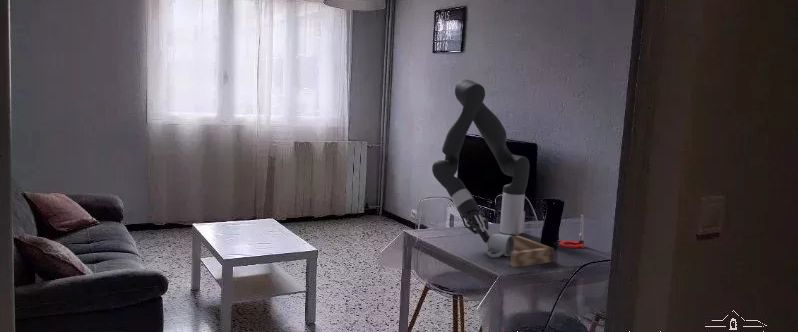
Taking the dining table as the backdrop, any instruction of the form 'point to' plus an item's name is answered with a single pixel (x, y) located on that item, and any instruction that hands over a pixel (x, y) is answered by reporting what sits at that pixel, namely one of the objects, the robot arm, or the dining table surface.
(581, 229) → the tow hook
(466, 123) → the robot arm
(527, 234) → the dining table surface
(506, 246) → the ceramic mug
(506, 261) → the dining table surface
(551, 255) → the corner walls
